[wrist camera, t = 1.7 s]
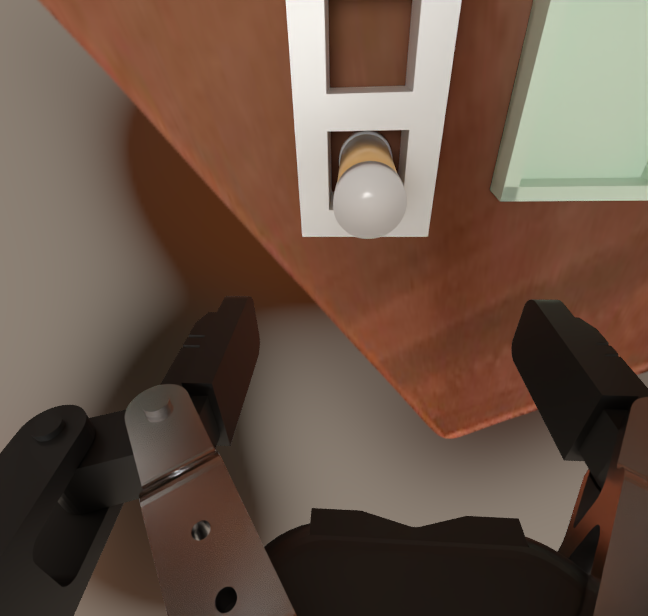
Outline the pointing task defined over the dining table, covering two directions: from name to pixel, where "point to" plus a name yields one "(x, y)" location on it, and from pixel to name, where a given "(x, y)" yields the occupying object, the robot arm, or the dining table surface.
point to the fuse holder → (370, 111)
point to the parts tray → (578, 105)
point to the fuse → (368, 187)
